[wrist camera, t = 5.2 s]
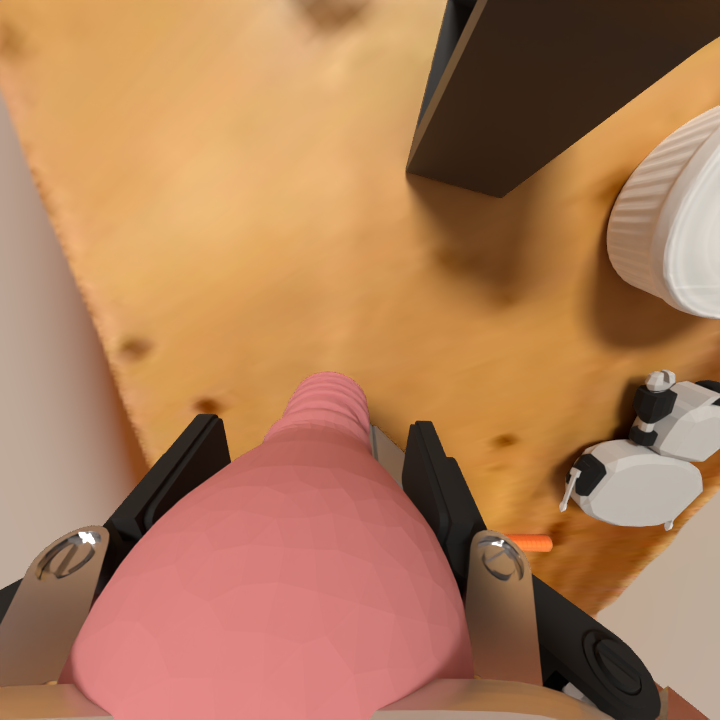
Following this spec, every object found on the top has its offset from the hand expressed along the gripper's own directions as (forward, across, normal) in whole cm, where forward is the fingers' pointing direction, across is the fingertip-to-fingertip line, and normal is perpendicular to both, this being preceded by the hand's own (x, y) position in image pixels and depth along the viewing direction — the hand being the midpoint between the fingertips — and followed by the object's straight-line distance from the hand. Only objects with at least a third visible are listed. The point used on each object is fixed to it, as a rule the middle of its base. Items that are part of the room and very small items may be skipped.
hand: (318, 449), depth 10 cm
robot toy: (+12, -28, +9) cm, 32 cm away
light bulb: (+4, 0, 0) cm, 4 cm away
